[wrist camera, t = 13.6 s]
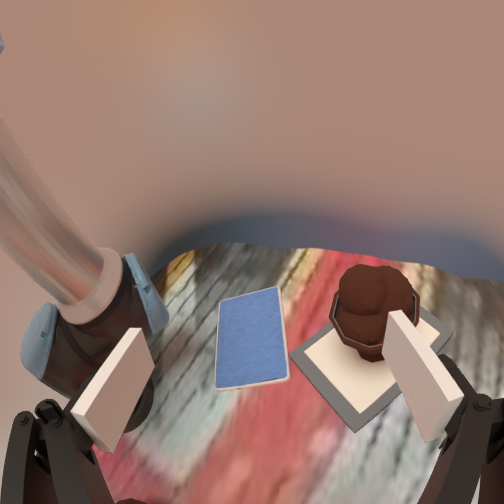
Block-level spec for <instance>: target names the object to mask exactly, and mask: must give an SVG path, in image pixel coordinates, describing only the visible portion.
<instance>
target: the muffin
mask: <svg viewBox="0 0 504 504" xmlns="http://www.w3.org/2000/svg"><path fill="white" fill-rule="evenodd" d="M116 504H146V503H145V502H142V501H139V500H135V499H132V498H130V499H126V500H121V501H118V502H117V503H116Z"/></svg>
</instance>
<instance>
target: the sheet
mask: <svg viewBox="0 0 504 504" xmlns="http://www.w3.org/2000/svg"><path fill="white" fill-rule="evenodd" d="M416 329H417V330H418V332H419V333H420V334H421V336H422V337H423V338H424V339H425V341H426V342H427V343H428V345H429V346H431V344H432V343H433V342H434V341H435V340H436V339H437V337H438V336H439V335H440V333H439V332H438V331H437V330H436V329H434V328H433V327H432V326H430V325H429V324H428V323H427V322H425V321H424V320H423V319H421V318H420V317H419V323H418V325H417V326H416ZM304 353H305V354H306V355H307V356H308V357H309V359H310V360H311V361H312V362H313V363H314V364H315V365H316V366H317V368H318V369H319V370H320V371H321V372H322V373H323V374H324V375H325V377H326V378H327V379H328V380H329V381H330V382H331V383H332V384H333V385H334V387H335V388H336V389H337V390H338V391H339V392H340V393H341V394H342V395H343V397H344V398H345V399H346V400H347V401H348V402H349V403H350V404H351V405H352V406H353V407H354V409H355V410H356V411H357V412H358V413H359V414H361V413H362V412H364V411H365V410H366V409H367V408H368V407H369V406H371V405H372V404H373V403H374V402H375V401H376V400H377V399H379V398H380V397H381V396H382V395H383V394H384V393H385V392H386V391H387V390H388V389H389V388H391V387H392V386H393V385H394V384H395V383H396V380H395V378H394V376H393V374H392V372H391V370H390V368H389V366H388V364H387V362H386V361H385V360H383V361H378V362H373V363H371V362H369V361H366V360H364V359H362V358H361V357H360V355H359V353H358V351H357V350H356V349H354V348H352V347H349V346H347V345H344V344H343V342H342V341H341V339H340V337H339V335H338V334H337V332H336V330H335V328H333V329H332V330H331V331H330V332H328V333H327V334H326V335H325V336H323V337H322V338H321V339H320V340H318V341H317V342H316V343H314V344H313V345H312V346H310V347H309V348H308V349H306V350H305V351H304Z"/></svg>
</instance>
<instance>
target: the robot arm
mask: <svg viewBox="0 0 504 504" xmlns="http://www.w3.org/2000/svg"><path fill="white" fill-rule="evenodd" d="M3 49H4V42H3V40H2V37H1V34H0V53H1V52H2V51H3ZM0 249H1V250H2V251H3V252H4V253H5V254H6V255H7V256H8V257H9V258H10V259H11V260H12V261H14V263H16V264H17V265H18V266H19V267H20V268H21V269H22V270H23V271H24V272H25V273H26V274H27V275H28V276H29V277H31V278H32V279H33V280H34V281H35V282H36V283H38V284H39V285H40V286H41V287H42V288H43V289H44V290H46V291H47V292H48V293H49V294H51V295H52V296H53V297H54V298H56V299H57V300H58V306H59V309H58V308H57V306H56V305H53V304H52V303H47V304H44V305H43V306H42V307H41V308H40V309H39V310H38V311H37V312H36V314H35V315H34V317H33V318H32V320H31V322H30V324H29V326H28V328H27V330H26V332H25V335H24V338H23V341H22V345H21V352H20V356H21V361H22V364H23V366H24V367H25V368H26V369H27V370H28V371H29V372H30V373H31V374H33V375H34V376H35V377H36V378H37V380H39V381H41V382H42V383H44V384H45V385H47V386H48V387H50V388H52V389H53V390H55V391H56V392H58V393H60V394H61V395H63V396H65V397H67V398H68V399H70V401H69V403H68V404H67V405H66V407H65V408H64V410H62V409H61V407H60V406H59V404H58V403H57V402H56V401H55V400H53V399H45V400H43V401H41V402H40V403H39V404H38V405H37V406H36V408H35V414H36V415H37V416H38V417H39V419H36V418H35V417H34V416H33V414H32V413H31V412H29V411H23V412H21V413H19V414H18V415H17V416H16V417H15V419H14V422H13V425H12V430H11V434H10V438H9V443H8V448H7V453H6V458H5V464H4V470H3V478H2V487H1V499H0V504H115V503H114V501H113V499H112V497H111V494H110V492H109V490H108V487H107V485H106V482H105V480H104V477H103V475H102V472H101V470H100V467H99V464H98V461H97V458H96V455H95V452H94V450H93V449H92V448H91V447H92V445H93V443H95V445H96V446H97V447H98V448H99V449H100V450H102V451H106V452H109V453H114V451H115V448H116V446H117V444H118V442H119V440H120V437H121V435H122V433H125V432H129V431H131V430H133V429H135V428H136V427H138V426H139V425H140V424H141V423H142V422H143V420H144V419H145V418H146V416H147V414H148V413H149V410H150V408H151V405H152V401H153V384H152V380H151V378H150V375H151V373H152V371H153V369H154V367H155V365H154V362H153V360H152V357H151V354H150V352H149V349H148V346H147V343H146V341H147V340H149V339H150V338H151V337H154V336H155V334H156V333H157V332H158V331H159V330H161V329H162V328H163V327H164V326H165V325H166V324H167V323H168V321H169V313H168V311H167V309H166V307H165V305H164V303H163V301H162V299H161V297H160V296H159V294H158V292H157V290H156V289H155V287H154V285H153V283H152V282H151V280H150V278H149V277H148V275H147V273H146V271H145V270H144V268H143V267H142V265H141V263H140V261H139V260H138V258H137V257H136V255H135V254H133V253H129V254H128V255H127V254H126V255H124V256H123V258H121V257H120V255H119V254H118V253H117V252H116V251H115V250H113V249H111V248H97V247H96V246H95V245H94V243H93V242H92V241H91V240H90V239H89V238H88V236H87V235H86V234H85V233H84V232H83V231H82V229H81V228H80V227H79V226H78V225H77V224H76V222H75V221H74V220H73V219H72V217H71V216H70V215H69V214H68V213H67V211H66V210H65V208H64V207H63V206H62V205H61V203H60V202H59V201H58V199H57V198H56V197H55V195H54V194H53V193H52V191H51V190H50V189H49V187H48V186H47V185H46V183H45V182H44V180H43V179H42V178H41V176H40V175H39V173H38V172H37V170H36V169H35V167H34V166H33V165H32V163H31V161H30V160H29V158H28V157H27V156H26V154H25V152H24V151H23V149H22V148H21V146H20V144H19V143H18V141H17V140H16V138H15V137H14V135H13V133H12V131H11V129H10V128H9V126H8V124H7V123H6V121H5V119H4V117H3V115H2V114H1V112H0ZM382 355H383V357H384V359H385V361H386V362H387V364H388V366H389V368H390V370H391V372H392V374H393V376H394V378H395V380H396V382H397V384H398V386H399V388H400V390H401V392H402V394H403V396H404V398H405V400H406V403H407V405H408V407H409V409H410V411H411V413H412V415H413V417H414V420H415V422H416V424H417V426H418V428H419V431H420V433H421V435H422V438H423V440H424V442H425V443H426V442H429V441H431V440H434V439H437V438H439V437H440V436H441V434H442V433H443V431H444V430H445V431H446V433H447V436H446V438H445V439H444V441H443V442H442V444H441V445H440V447H439V449H441V448H442V449H441V452H440V454H439V457H438V460H437V462H436V465H435V467H434V469H433V472H432V474H431V476H430V479H429V481H428V483H427V485H426V487H425V489H424V491H423V493H422V495H421V497H420V499H419V501H418V503H417V504H471V502H472V499H473V496H474V493H475V490H476V487H477V484H478V481H479V478H480V490H479V499H478V504H504V398H500V399H494V400H492V399H491V398H490V397H489V396H488V395H485V394H477V393H476V392H475V390H474V389H473V388H472V386H471V385H470V383H469V382H468V381H467V379H466V378H465V376H464V375H463V374H461V371H460V370H459V368H457V366H456V364H455V363H454V362H453V360H452V359H451V358H449V357H447V356H446V355H444V354H441V355H438V356H437V355H436V354H435V353H434V351H433V350H432V349H431V347H430V346H429V345H428V343H427V342H426V341H425V339H424V338H423V337H422V336H421V334H420V333H419V332H418V330H417V329H416V328H415V327H414V325H413V324H412V323H411V322H410V320H409V319H408V318H407V317H406V315H405V314H404V313H403V312H402V310H398V311H392V312H389V313H388V320H387V326H386V332H385V338H384V343H383V348H382ZM35 450H36V451H37V455H36V456H35V455H34V453H35ZM480 474H481V477H480Z"/></svg>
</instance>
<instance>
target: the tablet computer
mask: <svg viewBox="0 0 504 504" xmlns="http://www.w3.org/2000/svg"><path fill="white" fill-rule="evenodd" d="M290 377H291V373H290V364H289V356H288V348H287V339H286V330H285V322H284V314H283V306H282V298H281V290H280V288H279V287H277V286H274V287H271V288H267V289H263V290H260V291H256V292H252V293H248V294H245V295H241V296H237V297H233V298H229V299H225V300H222V301H221V302H220V303H219V311H218V326H217V342H216V358H215V377H214V388H215V390H216V391H218V392H222V391H227V390H229V391H231V390H238V389H245V388H252V387H259V386H265V385H271V384H277V383H283V382H286V381H288V380H289V379H290Z"/></svg>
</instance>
